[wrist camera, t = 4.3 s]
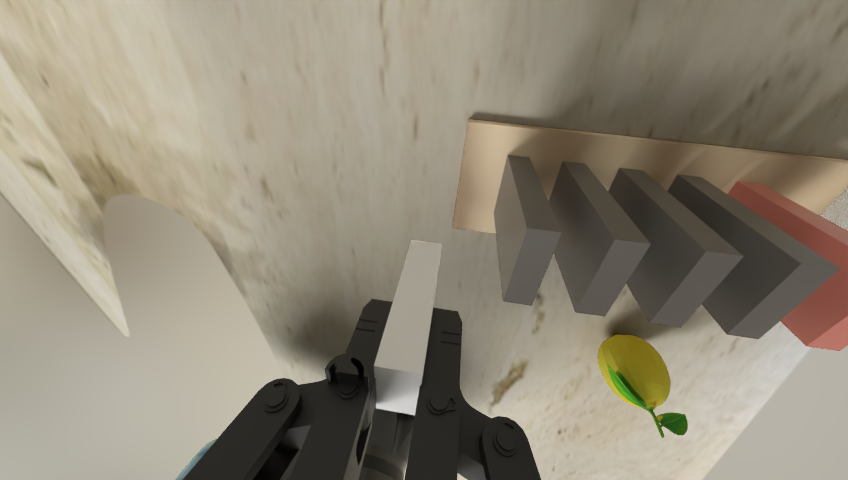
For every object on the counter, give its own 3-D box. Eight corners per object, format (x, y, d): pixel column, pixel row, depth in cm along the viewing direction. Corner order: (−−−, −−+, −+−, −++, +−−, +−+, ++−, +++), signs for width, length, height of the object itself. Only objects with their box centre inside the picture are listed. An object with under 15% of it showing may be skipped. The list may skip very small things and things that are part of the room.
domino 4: (642, 232, 24) (726, 334, 16) (677, 174, 21) (801, 263, 13) (663, 234, 24) (758, 339, 16) (701, 176, 21) (840, 268, 13)
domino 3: (591, 225, 25) (649, 323, 16) (619, 167, 22) (706, 251, 14) (612, 228, 24) (680, 327, 16) (642, 170, 22) (743, 256, 13)
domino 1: (493, 213, 25) (503, 301, 17) (507, 154, 22) (526, 228, 14) (512, 215, 25) (531, 305, 17) (529, 157, 22) (561, 232, 14)
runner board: (452, 223, 27) (452, 227, 27) (468, 119, 22) (468, 121, 21) (759, 263, 25) (766, 269, 25) (856, 160, 20) (869, 165, 19)
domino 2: (542, 219, 25) (575, 312, 17) (562, 161, 22) (614, 239, 14) (561, 221, 25) (605, 316, 17) (585, 163, 22) (651, 244, 14)
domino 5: (694, 238, 24) (806, 346, 16) (737, 181, 21) (900, 276, 13) (715, 241, 24) (839, 351, 16) (761, 183, 21) (941, 282, 13)
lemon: (650, 351, 33) (706, 455, 25) (592, 357, 35) (627, 455, 27) (649, 310, 30) (714, 415, 22) (585, 319, 32) (623, 419, 24)
